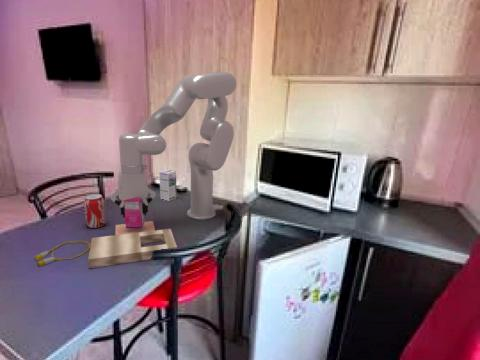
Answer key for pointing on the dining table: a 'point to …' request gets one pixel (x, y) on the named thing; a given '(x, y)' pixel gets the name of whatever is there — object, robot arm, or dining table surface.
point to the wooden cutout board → (127, 247)
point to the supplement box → (134, 213)
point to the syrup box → (168, 185)
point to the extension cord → (49, 260)
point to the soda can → (94, 210)
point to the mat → (123, 230)
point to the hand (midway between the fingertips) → (134, 214)
